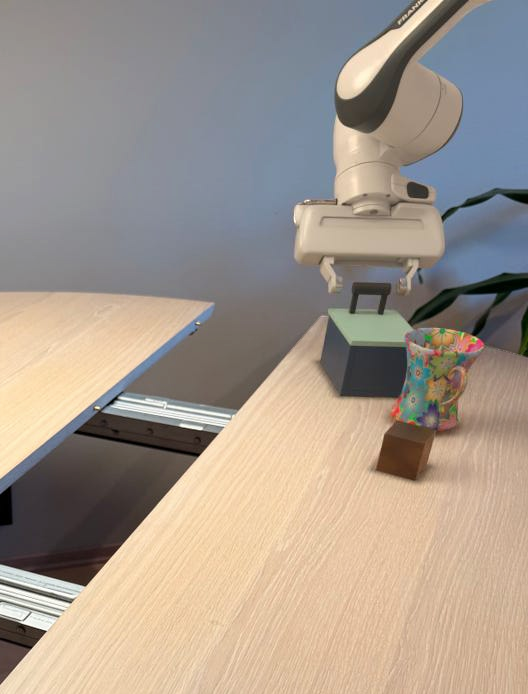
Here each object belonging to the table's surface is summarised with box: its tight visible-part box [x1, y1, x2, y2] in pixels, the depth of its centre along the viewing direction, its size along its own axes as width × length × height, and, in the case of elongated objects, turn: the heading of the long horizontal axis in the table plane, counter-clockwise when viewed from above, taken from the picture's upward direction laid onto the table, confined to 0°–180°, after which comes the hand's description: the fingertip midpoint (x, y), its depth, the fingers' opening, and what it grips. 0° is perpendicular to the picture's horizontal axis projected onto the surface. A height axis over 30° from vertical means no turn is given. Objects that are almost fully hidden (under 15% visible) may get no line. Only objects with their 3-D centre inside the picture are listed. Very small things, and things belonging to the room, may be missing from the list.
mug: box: [389, 327, 485, 432], centre depth 121 cm, size 12×9×11 cm
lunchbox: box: [319, 314, 407, 398], centre depth 135 cm, size 13×10×7 cm
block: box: [375, 420, 437, 481], centre depth 113 cm, size 5×5×5 cm
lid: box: [327, 281, 414, 347], centre depth 132 cm, size 13×10×5 cm
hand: (369, 292), depth 136 cm, fingers open, 8 cm apart
